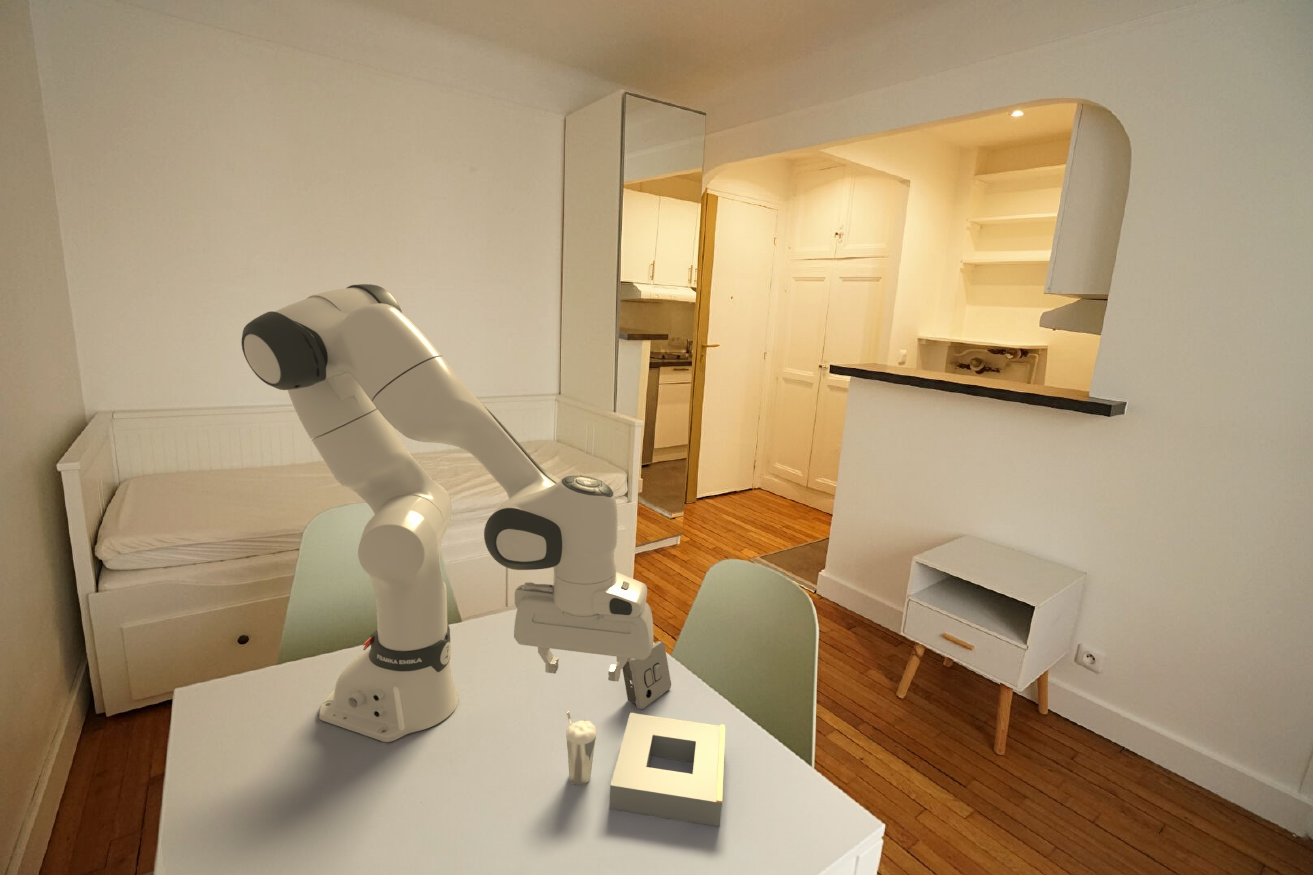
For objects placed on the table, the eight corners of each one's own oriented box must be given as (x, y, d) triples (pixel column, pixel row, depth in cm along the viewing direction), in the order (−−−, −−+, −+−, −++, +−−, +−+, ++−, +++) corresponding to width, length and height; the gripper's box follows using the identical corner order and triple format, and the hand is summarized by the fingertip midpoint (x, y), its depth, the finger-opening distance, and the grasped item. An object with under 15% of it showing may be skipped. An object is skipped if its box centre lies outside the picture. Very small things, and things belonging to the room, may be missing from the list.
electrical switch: (640, 712, 110) (639, 664, 108) (619, 702, 113) (617, 655, 111) (672, 688, 117) (671, 643, 115) (651, 679, 120) (650, 635, 119)
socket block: (609, 808, 89) (610, 783, 88) (628, 733, 104) (630, 711, 103) (719, 826, 87) (722, 800, 86) (723, 747, 102) (725, 724, 101)
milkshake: (576, 759, 98) (578, 704, 95) (600, 777, 94) (603, 720, 92) (555, 775, 94) (556, 718, 92) (579, 794, 91) (581, 736, 89)
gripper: (506, 591, 85) (507, 678, 89) (651, 607, 83) (646, 696, 86) (522, 571, 91) (522, 654, 95) (657, 586, 89) (653, 670, 92)
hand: (582, 674), depth 90 cm, fingers open, 8 cm apart
